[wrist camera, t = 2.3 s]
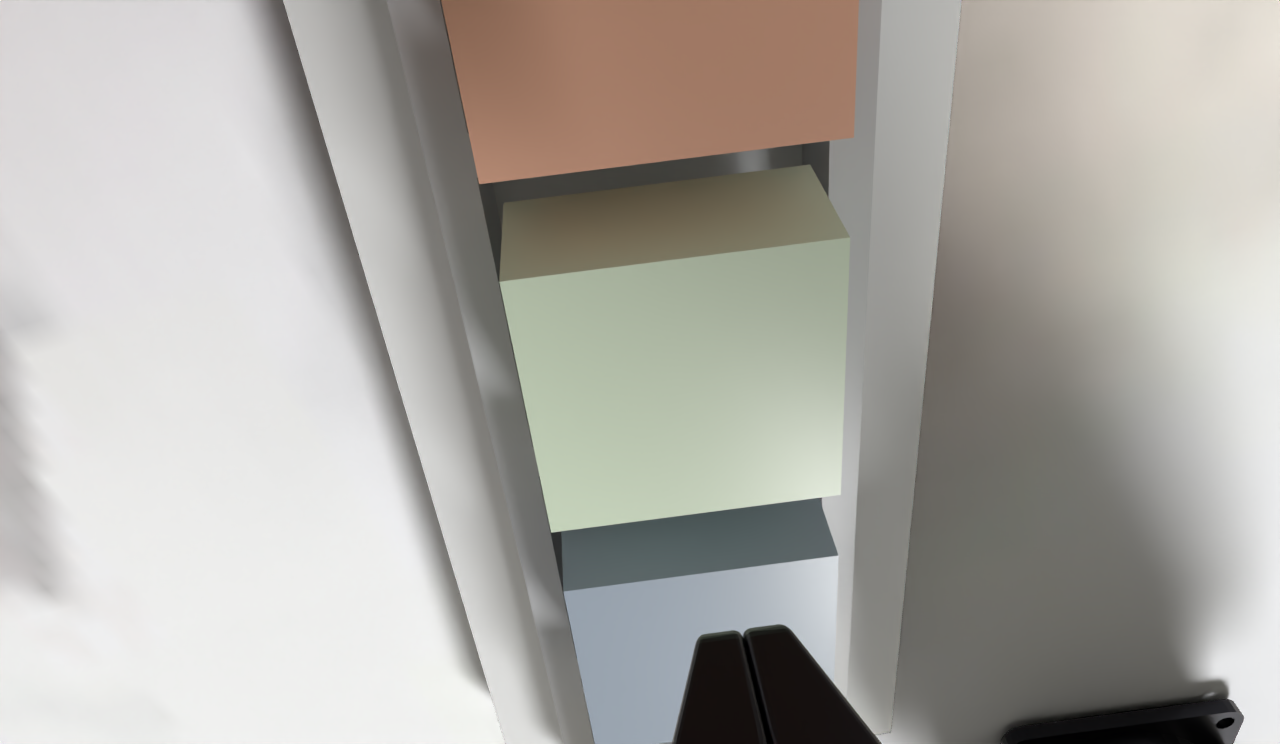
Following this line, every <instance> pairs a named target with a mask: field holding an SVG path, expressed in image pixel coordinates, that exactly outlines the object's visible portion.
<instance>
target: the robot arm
mask: <svg viewBox="0 0 1280 744" xmlns="http://www.w3.org/2000/svg"><path fill="white" fill-rule="evenodd" d="M1243 720H1244V716H1243V715H1242V713H1241V712H1240V710H1239V709H1238V707H1237V706H1236V704H1235V703H1234V702H1233V701H1232V700H1229V699H1221V700H1214V701H1206V702H1199V703H1191V704H1184V705H1177V706H1169V707H1162V708H1154V709H1147V710H1139V711H1132V712H1124V713H1117V714H1110V715H1102V716H1095V717H1087V718H1080V719H1072V720H1065V721H1057V722H1050V723H1043V724H1035V725H1028V726H1021V727H1017V728H1014V729H1012V730H1010V731H1008V732H1007V733H1006V734H1005V735H1004V736H1003V738H1002V741H1001V744H1233V743H1234V740H1235V738H1236V736H1237V734H1238V732H1239V729H1240V727H1241V725H1242V723H1243ZM672 744H882V743H881V742H880V741H879V740H878V738H877V737H876V736H875V735H874V733H873V732H872V731H871V730H870V728H869V727H868V726H867V725H866V723H865V722H864V721H863V719H862V718H861V717H860V716H859V714H858V713H857V712H856V711H855V709H854V708H853V707H852V706H851V704H850V703H849V702H848V701H847V699H846V698H845V697H844V696H843V694H842V693H841V692H840V690H839V689H838V688H837V687H836V685H835V684H834V683H833V682H832V680H831V679H830V678H829V677H828V675H827V674H826V673H825V672H824V670H823V669H822V668H821V667H820V665H819V664H818V663H817V661H816V660H815V659H814V658H813V656H812V655H811V654H810V653H809V651H808V650H807V649H806V648H805V646H804V645H803V644H802V643H801V641H800V640H799V639H798V638H797V636H796V635H795V634H794V633H793V631H792V630H791V629H789V628H788V627H787V626H785V625H782V624H777V625H769V626H762V627H754V628H749V629H747V630H746V631H744V633H743V636H742V635H741V633H740V632H738V631H734V630H731V631H724V632H716V633H708V634H703V635H701V636H700V637H699V638H698V639H697V641H696V644H695V648H694V652H693V656H692V660H691V665H690V669H689V673H688V677H687V681H686V686H685V690H684V694H683V698H682V702H681V707H680V711H679V715H678V719H677V723H676V728H675V732H674V736H673V740H672Z"/></svg>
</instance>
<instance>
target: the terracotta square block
mask: <svg viewBox="0 0 1280 744" xmlns="http://www.w3.org/2000/svg"><path fill="white" fill-rule="evenodd" d="M441 2H442V7H443V12H444V16H445V21H446V26H447V31H448V36H449V41H450V45H451V50H452V55H453V60H454V65H455V70H456V74H457V79H458V84H459V89H460V94H461V99H462V103H463V108H464V113H465V118H466V123H467V128H468V133H469V137H470V142H471V147H472V152H473V157H474V162H475V166H476V171H477V176H478V181H479V184H485V183H493V182H502V181H510V180H518V179H526V178H534V177H542V176H550V175H558V174H566V173H574V172H582V171H590V170H598V169H606V168H614V167H622V166H630V165H638V164H646V163H654V162H662V161H670V160H678V159H686V158H694V157H702V156H711V155H719V154H727V153H735V152H743V151H751V150H759V149H767V148H775V147H783V146H791V145H799V144H807V143H815V142H823V141H831V140H839V139H847V138H854V122H855V95H856V68H857V41H858V13H859V0H441Z"/></svg>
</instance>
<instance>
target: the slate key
mask: <svg viewBox="0 0 1280 744" xmlns="http://www.w3.org/2000/svg"><path fill="white" fill-rule="evenodd" d="M561 534H562V565H563V592H564V597H565V602H566V607H567V612H568V616H569V621H570V626H571V631H572V636H573V641H574V645H575V650H576V655H577V660H578V665H579V670H580V675H581V679H582V684H583V689H584V694H585V699H586V704H587V708H588V713H589V718H590V723H591V728H592V733H593V737H594V742H595V744H660V743H667V742H672V740H673V736H674V732H675V728H676V723H677V719H678V715H679V711H680V707H681V702H682V698H683V694H684V690H685V686H686V681H687V677H688V673H689V669H690V665H691V660H692V656H693V652H694V648H695V644H696V641H697V639H698V638H699V637H700V636H701V635H703V634H708V633H716V632H724V631H731V630H734V631H738V632H740V633H741V635H742V636H743V633H744V631H746V630H747V629H749V628H754V627H762V626H769V625H777V624H782V625H785V626H787V627H788V628H789V629H791V630H792V631H793V633H794V634H795V635H796V636H797V638H798V639H799V640H800V641H801V643H802V644H803V645H804V646H805V648H806V649H807V650H808V651H809V653H810V654H811V655H812V656H813V658H814V659H815V660H816V661H817V663H818V664H819V665H820V667H821V668H822V669H823V670H824V672H825V673H826V674H827V675H828V677H829V678H830V679H831V680H832V682H833V683H834V668H835V640H836V613H837V586H838V559H839V555H838V552H837V549H836V546H835V543H834V541H833V538H832V535H831V532H830V529H829V526H828V523H827V520H826V517H825V514H824V511H823V508H822V505H821V502H820V499H819V498H813V499H805V500H798V501H790V502H782V503H775V504H767V505H759V506H752V507H744V508H736V509H729V510H721V511H713V512H706V513H698V514H690V515H683V516H675V517H667V518H660V519H652V520H644V521H637V522H629V523H621V524H614V525H606V526H598V527H590V528H583V529H575V530H567V531H561Z"/></svg>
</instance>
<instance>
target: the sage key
mask: <svg viewBox="0 0 1280 744" xmlns="http://www.w3.org/2000/svg"><path fill="white" fill-rule="evenodd" d="M849 259H850V236H849V234H848V232H847V231H846V229H845V227H844V225H843V223H842V221H841V220H840V218H839V216H838V214H837V212H836V211H835V209H834V207H833V205H832V203H831V201H830V200H829V198H828V196H827V194H826V192H825V190H824V189H823V187H822V185H821V183H820V181H819V180H818V178H817V176H816V174H815V172H814V170H813V169H812V167H811V165H802V166H794V167H786V168H778V169H770V170H762V171H754V172H746V173H738V174H730V175H722V176H714V177H706V178H698V179H690V180H682V181H674V182H666V183H658V184H650V185H642V186H634V187H626V188H618V189H610V190H602V191H594V192H586V193H578V194H570V195H562V196H554V197H546V198H538V199H530V200H522V201H514V202H506V203H504V204H503V223H502V241H501V260H500V278H499V283H500V287H501V292H502V297H503V302H504V307H505V312H506V316H507V321H508V326H509V331H510V336H511V341H512V345H513V350H514V355H515V360H516V365H517V370H518V374H519V379H520V384H521V389H522V394H523V399H524V404H525V408H526V413H527V418H528V423H529V428H530V433H531V437H532V442H533V447H534V452H535V457H536V462H537V466H538V471H539V476H540V481H541V486H542V491H543V495H544V500H545V505H546V510H547V515H548V520H549V524H550V529H551V533H552V532H560V531H567V530H575V529H583V528H590V527H598V526H606V525H614V524H621V523H629V522H637V521H644V520H652V519H660V518H667V517H675V516H683V515H690V514H698V513H706V512H713V511H721V510H729V509H736V508H744V507H752V506H759V505H767V504H775V503H782V502H790V501H798V500H805V499H813V498H821V497H829V496H836V495H841V477H842V450H843V422H844V395H845V368H846V340H847V313H848V286H849Z"/></svg>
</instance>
